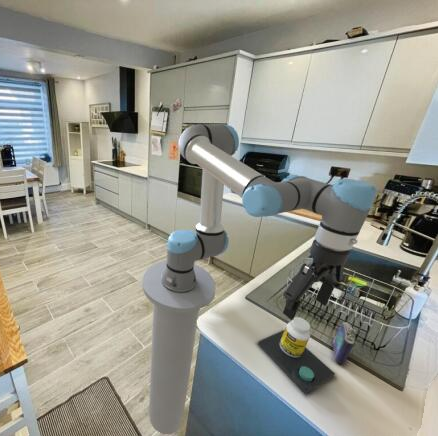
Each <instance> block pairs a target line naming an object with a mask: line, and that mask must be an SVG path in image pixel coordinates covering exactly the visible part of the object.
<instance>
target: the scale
mask: <svg viewBox="0 0 438 436" xmlns="http://www.w3.org/2000/svg"><path fill="white" fill-rule="evenodd" d="M284 330H285V329H283V330H281V331H279V332H276V333H274V334H272V335H269V336H268V337H265V338H263V339H260V340H259V341H258V343H257V345H258V346H259V347H260V348H261V350H263V352H264V353H266V355H267V356H268V357H269V358H270V360H272V361H273V362H274V363H275V364H276V365H277V367H279V369H280V370H281V371H282V372H283V373H284V375H286V376H287V377H288V378H289V379H290V380H291V381H292V383H294V384H295V386H296V387H297V388H298V389H299V390H300V391H301V392H302V393H303V394H304V395H306V394H308V393H310V392H312V391H315V390H316V389H318V387H319V386H321V385H323V384H325V383H326V382H327V381H329V380H331V379H332V378H334V377H335V375H336V372H334V371H333V370H332V369H331V368H330V367H328V365H326V364H325V363H324V362H323V361H322V360H321V359H320V358H319V357H317V356H316V355H315V354H314V353H313V352H311V350H309V348H307V346H306V347H305V349H304V351H303V354H302V355H301V356H300V357H297V358H294V357H291V356H289V355H287V354H286V353H285V352H284V351H283V350H282V349H281V347H280V341H281V338H282V336H283V333H284ZM302 366H305V367H308V368H309V369H311V370H312V372H313V373H314V377H313V379H312V381H310V382H307V381H305V380H303V379H302V378H301V377H300V375H299V370H300V368H301V367H302Z"/></svg>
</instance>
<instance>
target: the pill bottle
mask: <svg viewBox="0 0 438 436" xmlns="http://www.w3.org/2000/svg"><path fill="white" fill-rule="evenodd" d="M283 330H284V333H283V336H282V338H281V341H280V347H281V349H282V350H283V351H284V352H285V353H286V354H287V355H289V356H291V357H294V358H297V357H300V356H301V355H302V354H303V351H304V349H305V347H306V348H307V346H308V342H309V340H310V338H311V332H310V330H311V324H310V323H309V322H308V320H306V319H304V318H303V317H299V316H295V317H294V320H290V321H289V322H288V323H287V324H286V326H285V328H284V329H283Z"/></svg>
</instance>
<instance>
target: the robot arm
mask: <svg viewBox="0 0 438 436" xmlns="http://www.w3.org/2000/svg"><path fill="white" fill-rule="evenodd" d="M177 146H178V150H179V153H180V155H181V156H182V158H184V160H186V161H187V162H188V163H190V164H192V165H198V166H199V167H200V168H201V169H202V175H201V190H200V191H201V192H200V209H199V222H198V223H197V224H196V225H195V231H193V230H190V229H178V230H175V231H173V232H171V234H169V236H168V239H167V244H166V249H167V250H166V261H167V263H166V267H165V269H164V271H163V273H162V276H161V282H162V284H163V286H164V287H165V288H166V289H168V290H170V291H172V292H176V293H186V292H189V291H191V290H193V289H194V288H195V286H196V276H195V272H194V264H195V262H197V261H200V260H203V259H204V260H205V259H207V258H208V259H209V258H212V257H217V256H220V255H222V254H224V253H225V252H226V251H227V249H228V247H229V244H230V243H229V241H230V240H229V237H228V233H227V231H226V230H225V227H224V226H223V225H222V223H221V221H222V212H223V200H224V188H225V187H226V188H228V189H229V190H230V191H232V192H233V193H234V194H236V195H237V196H238V197H240V198H241V203H242V207H244V210H245V212H246V213H247V214H248V215H249V216H252V217H253V218H262V217H263V218H264V217H265V218H267V217H271V216H275V215H279V214H283V213H288V212H293V211H298V210H306V211H308V212H311V213H313V214H316V215H319V216H321V219H320V222H319V224H318V227H317V229H316V232H315V235H314V239H313V240H312V243H311V246H310V248H309V254H310V256H311V257H312V261H311V262H309V264H307V263H305V262H303V263H302V265H301V266H300V268H299V271H298V272H297V274H296V275H295V276H294V277H293V279H292V281H291V283H290V284H289V285H288V287H287V288H286V289H285V291H284V292H283V297H285V298H286V299H287V301H286V303H285V306H284V308H283V311H282V314H283V315H284V316H286V317H287V318H288V319H289V320H290V321H292V320H294V317H296V315H297V312H298V309H299V307H300V304H301V302H302V301H301V299H302V298H303V297H304V295H305V294H306V293H307V292H308V291H309V290H310V288H312V286H313V285H314V284H315V283H319V282H320V281H321V280H322V278H323V277H324V280H325V281H323V282H322V283H321V285H320V289H319V290H318V292H317V294H316V297H315V301H317V302H319V303H320V304H321V305H323V306H324V307H325V306H327V305H328V302H329V300H330V298H331V296H332V294H333V291H334V289H335V288H337V289H339V288H340V287H341V283H342V282H343V278H344V267H345V264H346V263H347V261H348V259H349V256H350V254H351V250H352V249H353V247H354V245H356V244H358V240H357V238H358V237H359V234H360V232H361V229H362V228H363V226H364V223H365V221H366V220H367V217H368V216H369V213H370V211H371V210H372V209H373V204H374V201H375V199H376V196H377V194H378V188H377V187H376V185H375V184H372V183H370V182H367V181H363V180H356V179H352V178H340V179H338V180H336V181H335V182H334V184H330V183H327V182H323V181H319V180H316V179H313V178H310V177H307V176H304V175H297V174H290V175H287V176H286V177H284V178H283V179H282V180H281V181H277V182H276V181H273V180H271V179H270V178H268V177H266V176H265V175H264V174H262V173H260V172H258V171H257V170H255V169H254V168H252V167H250V166H249V165H247V164H245V163H243V161H240V160H238V159H237V158H235V156H234V155H235V154H236V152H238V149H239V147H240V138H239V134H238V131H237V130H236V129H235V127H233V126H231V125H229V124H222V123H217V124H216V123H215V124H193V125H189V126H188V127H187V128H185V129H184V130H183V131H182V132H181V134H180V136H179V139H178V145H177Z"/></svg>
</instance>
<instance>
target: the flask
mask: <svg viewBox="0 0 438 436" xmlns="http://www.w3.org/2000/svg"><path fill="white" fill-rule="evenodd" d="M355 332H357V330H356V328H353V327H352V325H351V324H350V323H349V322H346V321H343V322H341V325H340V327H339V329H338V331H337V333H336V335H335V337H334V339H333V341H332V346H333V348H332V350H333V352H334V354H333V355H334V357H333V358H334V359H333V360H334V362H335V363H336V364H337V365H339V366H344V365H345V364H346V361H347V359H348V357H349V355H350V353H351V352H352V349H353V348H354V346H355V344H356V343H355V342H356V334H355Z"/></svg>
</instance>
